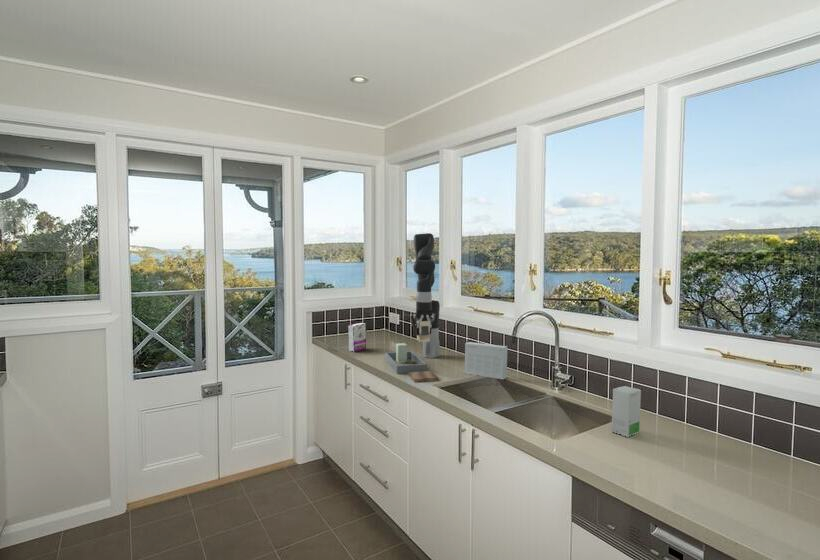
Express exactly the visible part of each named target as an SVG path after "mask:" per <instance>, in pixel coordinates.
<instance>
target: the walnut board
mask: <svg viewBox="0 0 820 560" xmlns="http://www.w3.org/2000/svg"><path fill="white" fill-rule="evenodd" d="M407 375H409V376H410V377H411V378H410V377H409V376H408V377H409V378H410V379H411V380H412V381H413V382H414V383H419V382H418V381H424V382H436V381H439V376H437V374H435V373H434V372H433V371H431V370H427V371H422V372H408V373H407Z"/></svg>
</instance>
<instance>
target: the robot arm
mask: <svg viewBox="0 0 820 560" xmlns="http://www.w3.org/2000/svg"><path fill="white" fill-rule="evenodd" d="M413 245H414V251H415V252H414V253H415V258H416V259H415V260H414V262H413V267H412V268H413V271H414V273H415V274H417V281H416V298H415V313H413V314H410V315H409V318H410V323H411V326H412V327H414V328H415V335H416V336H417V335H418V336H419V324H420V321H430V342H422V356H424V357H423V358H427V357H428V358H427V359H429V358H430V359H431V358H435V359H436V358H438V357H440V351H441V350H440V345H441V343H440V342H441V341H440V339H439V336H440V335H439V334H440V332H439V330H440V326H439V325H440V305H441V304H440V301H439V300H433V299H432V287H433V285H434V283H435V280H436V279H435V270H436V264H435V261H434V260H433V259H432V254H433V252H434V250H435V249H434V248H435V237H434V235H433V233H429V232H428V233H417V234H414V236H413ZM431 317H432V318H431ZM415 319H417V320H416V322H415ZM418 320H419V321H418Z"/></svg>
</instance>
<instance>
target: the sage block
mask: <svg viewBox="0 0 820 560" xmlns="http://www.w3.org/2000/svg"><path fill="white" fill-rule="evenodd" d="M407 347H408V344H406V343H404V342H402V343H396V344H395V352H396V359H395V362H396V361H397V362H398V363H397V362H396V363H397V364H406V363H405V362H407V363H408V359H407V352H408V348H407Z"/></svg>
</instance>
